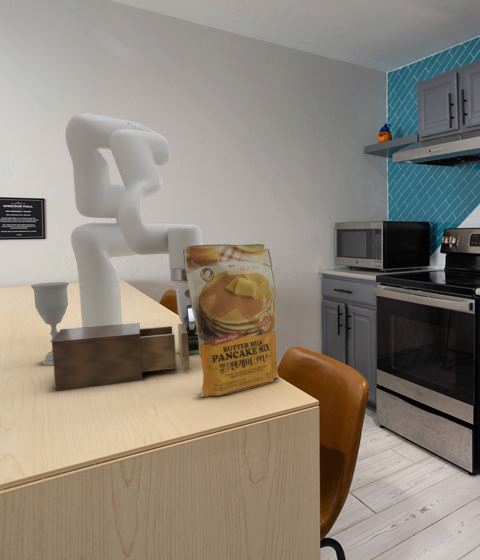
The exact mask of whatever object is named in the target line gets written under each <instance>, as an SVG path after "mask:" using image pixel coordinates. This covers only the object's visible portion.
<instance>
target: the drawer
mask: <svg viewBox="0 0 480 560" xmlns="http://www.w3.org/2000/svg"><path fill="white" fill-rule="evenodd" d="M177 334H178V352H179V360H180V363H181V367H182V369H183V370H188V369H190V354H189V350H188V344H197V343H199V342H198V340H196V341H188V340H194V339H198V336H194V337H188V333H187V331H186V328H185V326H184V324H182V323H177ZM140 347H141V363H142V373H146V372H154V371H162V370H170V369H171V370H172V369H176V368H177V356H176V337H175V333H173V326H172V325H165V326H153V327H144V328H143V327H142V328H140Z"/></svg>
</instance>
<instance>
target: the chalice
mask: <svg viewBox="0 0 480 560" xmlns="http://www.w3.org/2000/svg"><path fill="white" fill-rule="evenodd" d="M69 283H70V282H66V281H65V282H63V281H62V282H61V281H59V282H43V283H42V282H41V283H34V284H31V285H30V287H31V289H32V290H33V293H34V295H33V297H34V308H35V309H36V312H37V313H38V315H39V317H40V318H41V320H43V322H44V323H45V324H46V325H50V328H51V329H50V333H49V335H50V336H51V340H50V343H51V344H52V341H53V340H54V338H55V337H56V335H57V334H58V332H59V331H58V329H57V326H58V324H60V323H61V322H62V320H63V319H64V316H65V315H66V312H67V308H68V305H69V300H68V286H69ZM42 365H48V366H54V362H53V350H52V349H51V350H50V351H49V352H47V353H46V355H45V357H44V361H43V362H42Z"/></svg>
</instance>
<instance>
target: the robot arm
mask: <svg viewBox="0 0 480 560" xmlns="http://www.w3.org/2000/svg"><path fill="white" fill-rule="evenodd" d="M65 143H66V147H67V151H68V153H69V156H70V159H71V164H72V173H73V174H72V175H73V187H74V200H75V207H76V211H77V212H78V214H80V215H81V216H82V217H86V218H91V219H115V221H116V222H87V223H82V224H80V225H78V226H76V227H75V228H73V230H72V232H71V235H70V244H71V247H72V250H73V254H74V257H75V262H76V269H77V278H78V286H79V287H78V289H79V301H80V313H81V315H80V317H81V326H82V327H94V326H106V325H119V324H123V316H122V315H123V312H122V296H121V283H120V274H119V273H120V272H119V270H118V269H117V267H116V266H115V264H114V263H113V262H112V260H111V259H110V258H119V257H120V258H121V257H131V256H135V255H141V256H147V255H148V256H151V255H162V254H163V255H168V264H169V265H168V267H169V282H170V283H174V284H175V292H176V293H175V294H176V305H177V312H178V313H177V314H178V318H179V320H180V322H181V324H184V326H185V328H186V331H187V333H188V337H194V336H198V331H197V326H196V322H195V319H194V315H193V311H192V306H191V300H190V293H189V286H188V281H187V278H186V273H185V265H184V255H183V250H184V249H186V248H187V247H189V246H196V245H203V232H202V229H201V227H200V226H199V225H197V224H179V223H161V222H159V223H153V222H152V223H151V222H149V223H146V222H145V223H144V222H143V213H142V202H141V200H143V199H145V198H149V197H150V196H153V195H155V194H156V193H158V192H159V191H160V190H161V189H162V187H163V180H162V177H161V175H160V173H159V170H158V168H157V166H158V167H159V166H165V165H166V164H167V163H168V162H170V159H171V157H172V156H171V155H172V150H171V146H170V143H169V142H168V140H167V139H166V137H164V135H162V134H161V133H159V132H157V131H155V130H153V129H151V128H149V127H147V126H145V125H144V124H142V123H140V122H137V121H134V120H133V121H132V120H129V119H123V118H117V117H112V116H107V115H102V114H96V113H78V114H74V115H73V116H72V117H70V119H69V120H68V122H67V123H66V127H65ZM100 149H101V150H110V151H111V154H112V156H113V159H114V162H115V165H116V168H117V170H118V173H119V176H120V179H121V180H122V183H123V184H120V183H113V182H112V171H111V166H110V163H109V161H108V160H107V159H106V157H105V156H104V154H103V153H102V152H101V151H100ZM187 325H188V326H187ZM82 327H81V328H82ZM196 340H198V339H194V340H188V341H196ZM188 350H189V351H195V350H199V343H197V344H188Z"/></svg>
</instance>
